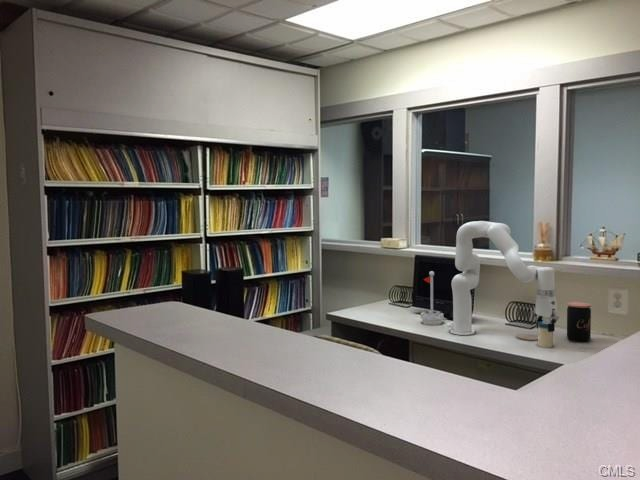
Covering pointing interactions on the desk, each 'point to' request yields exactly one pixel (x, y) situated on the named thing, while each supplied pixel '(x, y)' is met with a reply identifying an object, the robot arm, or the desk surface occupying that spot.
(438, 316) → the flag stand
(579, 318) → the coffee jar
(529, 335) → the coaster
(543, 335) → the jar
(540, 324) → the lid
